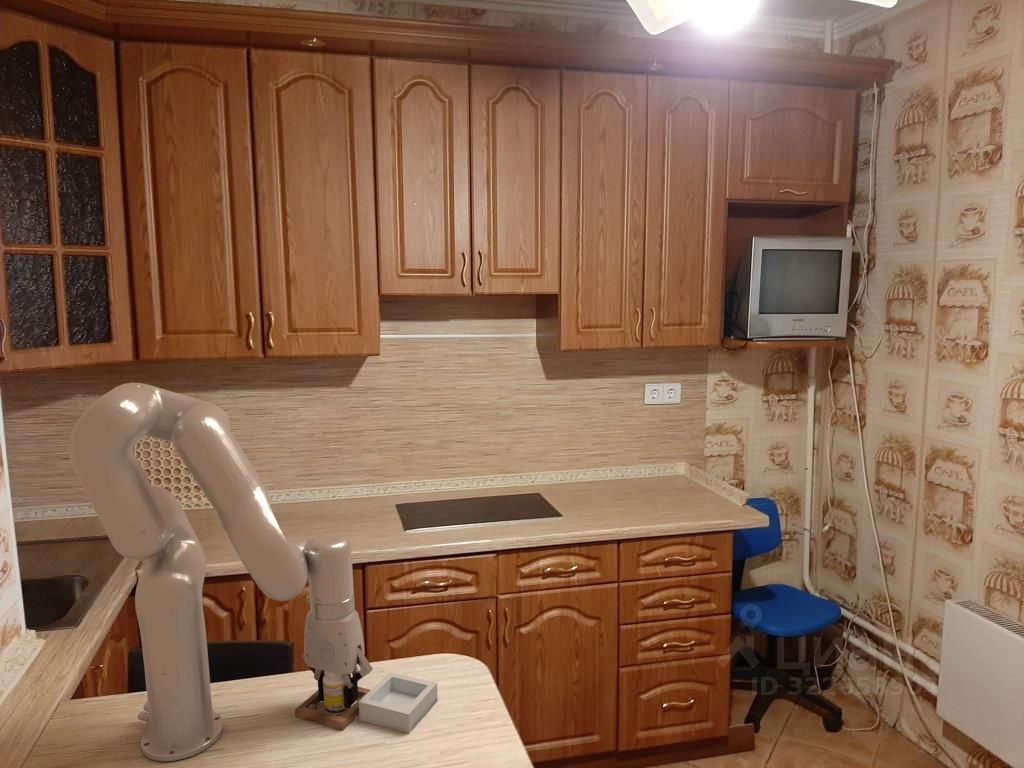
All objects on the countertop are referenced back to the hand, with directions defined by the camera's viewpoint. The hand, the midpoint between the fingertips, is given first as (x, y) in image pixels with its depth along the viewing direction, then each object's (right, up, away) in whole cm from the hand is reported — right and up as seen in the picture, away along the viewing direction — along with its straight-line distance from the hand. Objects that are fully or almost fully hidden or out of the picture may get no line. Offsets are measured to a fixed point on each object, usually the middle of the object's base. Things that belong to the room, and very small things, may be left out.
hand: (338, 699), depth 127 cm
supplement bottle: (0, -2, 0) cm, 2 cm away
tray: (0, -2, 0) cm, 2 cm away
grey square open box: (+11, -2, -1) cm, 11 cm away
